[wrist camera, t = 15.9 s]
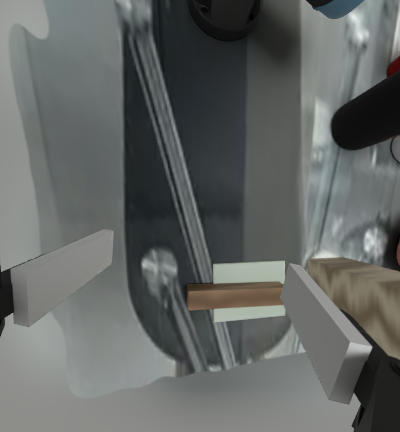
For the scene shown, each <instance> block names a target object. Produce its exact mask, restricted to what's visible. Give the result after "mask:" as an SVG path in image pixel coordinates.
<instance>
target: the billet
mask: <svg viewBox="0 0 400 432" xmlns="http://www.w3.org/2000/svg"><path fill="white" fill-rule="evenodd" d="M283 285H284V284H282V283H281V282H279V281H275V282H245V283H216V284H187V306H188V310H204V309H222V308H241V307H259V306H278V305H283V303H282V301H281V299H280V296H281V292H282V288H283Z"/></svg>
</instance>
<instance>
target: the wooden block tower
mask: <svg viewBox="0 0 400 432" xmlns="http://www.w3.org/2000/svg"><path fill="white" fill-rule="evenodd" d="M308 275H309V276H310V277H311V278H312V279H313V280H314V281H315V282H316V284H317V285H318V286H319V287H320V288H321V289H322V290H323V292H324V293H325V294H326V295H327V296H328V297H329V298H330V299H331V301H332V302H333V303H334V304H335V305H336V306H337V307H338V308H339V309H342V310H344V311H345V312H347V313H348V314H349V315H351V316H352V317H353V318H354V319H355V320H356V321H357V322H358V323H359V324H360V326H361V327H362V328H363V329H364V330H365V331H366V333H368V334H369V335H370V336H371V337H372V338H373V339H374V341H375V342H376V343H377V344H378V345H379V346H380V347H381V348H382V349H383V350H384V351H385V352H386V353H387V354H388V356H392V357H395V358H397V359H400V272H399V271H395V270H391V269H387V268H383V267H379V266H375V265H371V264H368V263H364V262H360V261H356V260H352V259H348V258H344V257H337V258H317V259H308Z"/></svg>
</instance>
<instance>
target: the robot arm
mask: <svg viewBox="0 0 400 432" xmlns="http://www.w3.org/2000/svg"><path fill="white" fill-rule="evenodd" d="M306 1H307V2H308V3H309V4H311V5H312V8H313V9H315V10H317V11H320V12H321V13H323V14H324V15H325V16H327V17H328V18H330V19H338V18H341V17H343V16H345V15H347V14H348V13H349V12H351V11H352V10H353V9H355V8H356V7H357V6H358V5H359V4H361V3H362V2H363V1H364V0H306ZM188 4H189V8H190V11H191V14H192V16H193V18H194V20H195V21H196V23H197V24H198V25H199V27H200V28H201V29H202V30H203V31H205V32H206V33H207V34H209V35H210V36H212V37H214V38H217V39H220V40H225V41H233V40H238V39H241V38H243V37H244V36H246V35H247V34H249V33H250V32H251V30H252V29H253V28H254V26H255V24H256V22H257V20H258V17H259V15H260V13H261V10H262V6H263V0H188ZM113 236H114V231H113V230H107V229H103V230H101V231H98V232H96V233H94V234H91V235H89V236H87V237H84V238H82V239H80V240H77V241H75V242H73V243H70V244H68V245H66V246H63V247H61V248H59V249H56V250H54V251H52V252H49V253H47V254H43V255H40V256H38V257H36V258H34V259H31V260H29V261H27V262H24V263H22V264H19V265H17V266H14V267H12V268H10V269H7V270H5V271H3V272H1V267H0V336H1V333H2V331H3V328H4V326H5V317H7V316H8V315H10V314H11V313H13V315H14V323H15V324H18V325H23V326H27V327H30V326H31V325H33V324H34V323H35V322H36V321H38V320H39V319H40V318H42V317H43V316H44V315H46V314H47V313H48V312H50V311H51V310H52V309H54V308H55V307H56V306H57V305H59V304H60V303H61V302H63V301H64V300H65V299H67V298H68V297H69V296H70V295H72V294H73V293H74V292H76V291H77V290H78V289H80V288H81V287H82V286H83V285H85V284H86V283H87V282H89V281H90V280H91V279H93V278H94V277H95V276H97V275H98V274H99V273H100V272H102V271H103V270H104V269H106V268H107V267H108V266H110V265H111V264H112V254H113ZM280 299H281V301H282V303H283V305H284V307H285V309H286V311H287V313H288V315H289V318H290V320H291V322H292V324H293V326H294V328H295V330H296V332H297V334H298V336H299V339H300V341H301V343H302V345H303V347H304V349H305V351H306V353H307V355H308V358H309V360H310V362H311V364H312V366H313V368H314V370H315V372H316V374H317V376H318V379H319V380H320V383H321V385H322V387H323V389H324V391H325V393H326V395H327V397H328V399H329V400H332V401H336V402H340V403H344V404H349V403H350V401H351V398H352V395H353V393H355V395H356V396H357V398H358V400H359V401H360V403H361V405H360V408H359V410H358V412H357V415H356V417H355V419H354V422H353V424H352V427H353V428H354V432H400V359H397V358H395V357H392V356H388V354H387V353H386V352H385V351H384V350H383V349H382V348H381V347H380V346H379V345H378V344H377V343H376V342H375V341H374V339H373V338H372V337H371V336H370V335H369V334H368V333H366V331H365V330H364V329H363V328H362V327H361V326H360V324H359V323H358V322H357V321H356V320H355V319H354V318H353V317H352V316H351V315H349V314H348V313H347V312H345V311H344V310H342V309H339V308H338V307H337V306H336V305H335V304H334V303H333V302H332V301H331V299H330V298H329V297H328V296H327V295H326V294H325V293H324V292H323V290H322V289H321V288H320V287H319V286H318V285H317V284H316V282H315V281H314V280H313V279H312V278H311V277H310V276H309V275H308V273H307V272H306V271H305V270H304V269H303V268H302V267H301V266H300V265H295V264H290V263H289V266H288V270H287V274H286V277H285V281H284V285H283V288H282V292H281V296H280Z"/></svg>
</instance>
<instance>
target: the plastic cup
mask: <svg viewBox="0 0 400 432" xmlns="http://www.w3.org/2000/svg"><path fill="white" fill-rule="evenodd" d="M399 70H400V56H399V57H398V58H397V59H396V60H395V61H394V62H393V63H392V64H391V65H390V66H389V67H388V71H387V76H388V77H389V76H391V75H393V74H394V73H396V72H397V71H399Z"/></svg>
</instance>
